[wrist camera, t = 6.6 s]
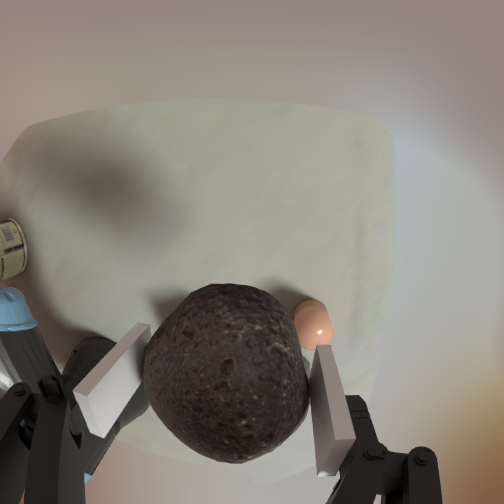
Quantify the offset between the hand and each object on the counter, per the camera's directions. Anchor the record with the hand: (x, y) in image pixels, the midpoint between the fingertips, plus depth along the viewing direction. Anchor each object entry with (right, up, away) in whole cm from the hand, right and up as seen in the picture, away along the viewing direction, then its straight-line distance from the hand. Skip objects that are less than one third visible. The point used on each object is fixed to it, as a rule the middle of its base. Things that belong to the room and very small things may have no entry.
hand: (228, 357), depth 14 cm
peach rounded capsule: (+8, -2, +17) cm, 19 cm away
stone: (0, 0, +1) cm, 1 cm away
